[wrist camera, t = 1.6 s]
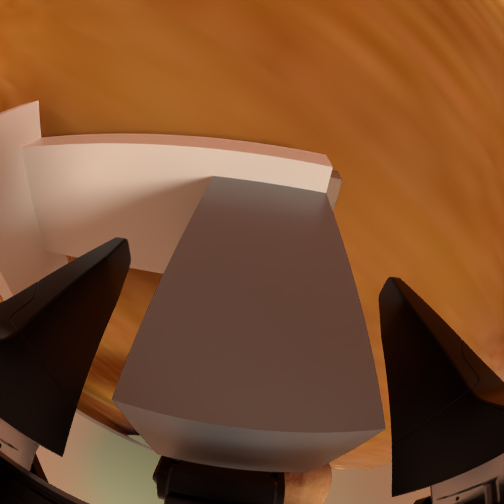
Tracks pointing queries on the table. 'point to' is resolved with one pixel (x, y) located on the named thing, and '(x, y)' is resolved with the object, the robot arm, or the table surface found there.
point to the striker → (206, 286)
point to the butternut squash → (308, 486)
